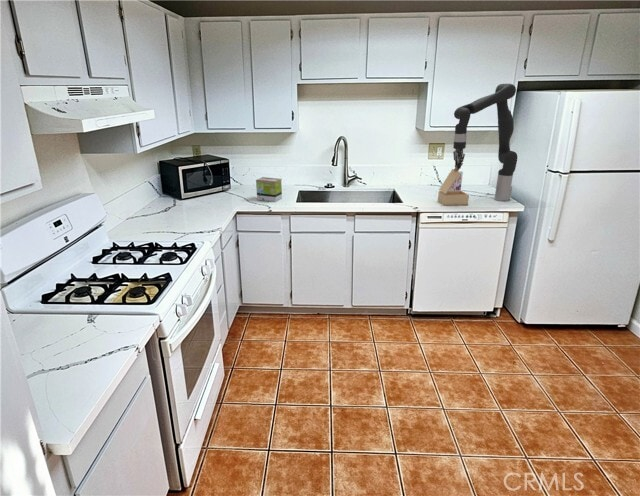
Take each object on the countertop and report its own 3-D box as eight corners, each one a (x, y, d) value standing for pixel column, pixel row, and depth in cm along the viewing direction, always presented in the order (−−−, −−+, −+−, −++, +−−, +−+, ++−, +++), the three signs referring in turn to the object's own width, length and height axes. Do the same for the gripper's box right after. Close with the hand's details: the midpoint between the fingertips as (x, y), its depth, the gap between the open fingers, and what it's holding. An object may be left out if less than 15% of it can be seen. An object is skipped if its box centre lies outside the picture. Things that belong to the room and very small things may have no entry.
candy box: (453, 197, 290) (456, 174, 283) (445, 196, 293) (448, 173, 287) (460, 193, 300) (463, 171, 294) (452, 192, 303) (455, 170, 297)
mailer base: (460, 200, 281) (461, 190, 279) (467, 205, 270) (468, 194, 268) (437, 201, 280) (438, 191, 278) (443, 205, 269) (445, 195, 267)
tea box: (256, 200, 286) (255, 179, 281) (263, 197, 295) (262, 176, 289) (275, 202, 281) (274, 181, 275) (282, 198, 290) (281, 178, 284)
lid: (458, 161, 271) (456, 160, 271) (465, 164, 260) (463, 163, 260) (439, 190, 278) (437, 189, 277) (446, 194, 266) (444, 193, 266)
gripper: (470, 141, 254) (467, 169, 260) (461, 139, 267) (459, 165, 273) (458, 142, 254) (456, 170, 260) (450, 139, 267) (448, 166, 273)
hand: (457, 167), depth 267 cm, fingers closed on lid, 3 cm apart
